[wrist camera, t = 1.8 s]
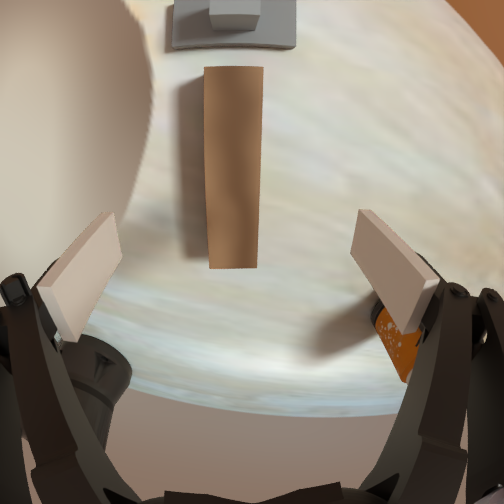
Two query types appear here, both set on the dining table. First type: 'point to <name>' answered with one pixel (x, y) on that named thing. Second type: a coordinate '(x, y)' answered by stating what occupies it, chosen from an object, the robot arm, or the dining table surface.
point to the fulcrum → (234, 23)
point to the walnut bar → (232, 163)
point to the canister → (397, 341)
